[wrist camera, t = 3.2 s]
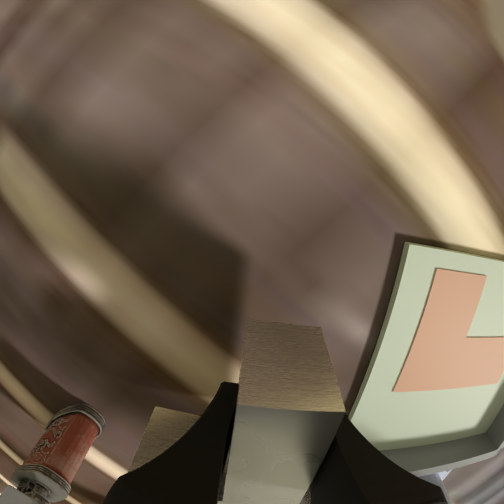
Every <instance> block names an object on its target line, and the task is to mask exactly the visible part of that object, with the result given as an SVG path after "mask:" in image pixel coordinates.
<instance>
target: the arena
mask: <svg viewBox="0 0 504 504" xmlns="http://www.w3.org/2000/svg"><path fill="white" fill-rule="evenodd" d="M348 419H349V420H350V421H351V422H352V423H353V425H354V426H355V427H356V428H357V429H358V431H359V432H360V433H361V434H362V435H363V436H364V437H365V438H366V439H367V440H368V441H369V442H370V443H371V444H372V445H373V446H374V447H375V448H376V449H378V450H379V451H380V452H381V453H382V454H383V455H385V456H386V457H387V458H388V459H390V460H391V461H393V462H394V463H395V464H397V465H398V466H400V467H401V468H403V469H405V470H406V471H408V472H410V473H411V474H413V475H415V476H417V477H420V476H425V475H430V474H434V473H439V472H443V471H447V470H451V469H455V468H458V467H462V466H466V465H469V464H472V463H476V462H479V461H482V460H485V459H488V458H491V457H494V456H497V455H498V454H499V453H500V452H501V451H502V449H503V448H504V260H500V259H495V258H490V257H485V256H480V255H475V254H470V253H465V252H460V251H455V250H449V249H444V248H439V247H433V246H428V245H422V244H417V243H411V242H405V243H404V248H403V252H402V256H401V261H400V265H399V269H398V273H397V277H396V280H395V284H394V288H393V292H392V295H391V299H390V302H389V306H388V309H387V312H386V316H385V319H384V322H383V325H382V328H381V332H380V335H379V338H378V341H377V344H376V347H375V349H374V352H373V355H372V358H371V361H370V364H369V366H368V369H367V372H366V374H365V377H364V380H363V382H362V385H361V387H360V390H359V392H358V395H357V397H356V400H355V402H354V404H353V407H352V409H351V411H350V414H349V416H348Z"/></svg>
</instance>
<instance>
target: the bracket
mask: <svg viewBox="0 0 504 504" xmlns="http://www.w3.org/2000/svg"><path fill="white" fill-rule="evenodd" d="M238 384H239V385H238V394H237V402H236V409H235V415H234V422H233V429H232V436H231V442H230V447H229V451H228V455H227V459H226V463H225V467H224V471H223V475H222V479H221V484H220V489H219V496H218V503H217V504H300V502H301V500H302V498H303V497H304V495H305V493H306V491H307V490H308V488H309V486H310V484H311V482H312V480H313V479H314V477H315V475H316V473H317V471H318V469H319V467H320V465H321V463H322V461H323V459H324V457H325V455H326V453H327V451H328V449H329V447H330V445H331V443H332V441H333V439H334V437H335V435H336V433H337V430H338V428H339V426H340V424H341V421H342V419H343V417H344V415H345V412H346V411H345V408H344V404H343V401H342V397H341V394H340V390H339V387H338V383H337V380H336V376H335V373H334V370H333V366H332V363H331V360H330V356H329V353H328V350H327V346H326V343H325V340H324V337H323V333H322V330H321V327H312V326H303V325H293V324H284V323H276V322H268V321H260V320H252V319H247V325H246V332H245V339H244V347H243V354H242V361H241V368H240V375H239V382H238ZM200 417H201V415H195V414H190V413H185V412H180V411H175V410H170V409H165V408H161V407H156V406H155V408H154V411H153V413H152V415H151V418H150V420H149V423H148V425H147V427H146V430H145V432H144V435H143V437H142V439H141V442H140V444H139V447H138V449H137V451H136V454H135V456H134V459H133V461H132V464H131V466H130V469H129V471H128V472H131V471H133V470H135V469H137V468H139V467H141V466H142V465H144V464H146V463H147V462H149V461H151V460H152V459H154V458H155V457H157V456H158V455H160V454H161V453H163V452H164V451H165V450H167V449H168V448H169V447H170V446H172V445H173V444H174V443H175V442H177V441H178V440H179V439H180V438H181V437H182V436H183V435H184V434H185V433H186V432H187V431H188V430H189V429H190V428H191V427H192V426H193V425H194V424H195V422H196V421H197V420H198V419H199V418H200Z"/></svg>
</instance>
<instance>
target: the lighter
mask: <svg viewBox="0 0 504 504" xmlns="http://www.w3.org/2000/svg"><path fill="white" fill-rule="evenodd" d="M105 424H106V423H105V420H104V418H103V417H102V415H101V414H100V413H99V412H98V411H97V410H95V409H94V408H93V407H91V406H89V405H86V404H76V405H72V406H69V407H66V408H64V409H62V410H60V411H59V412H58V413H57V414H56V415H54V416H53V418H52V419H51V420H50V422H49V423H48V425H47V426H46V428H45V433H44V434H43V436H42V437H41V438H40V440H39V441H38V443H37V444H36V446H35V447H34V448H33V450H32V451H31V453H30V454H29V456H28V457H27V459H26V460H25V461H24V463H23V464H22V465H21V466H19V467H18V468H16V470H15V471H14V473H13V474H12V477H11V481H12V482H13V484H14V485H15V486H16V487H17V490H19V491H21V492H22V493H24V494H26V495H27V496H29V497H31V498H32V499H34V500H35V501H36V502H38V503H39V504H50V502H59V501H62V500H64V499H65V498H67V496H68V494H69V492H70V490H71V487H70V483H71V482H72V480H73V478H74V476H75V474H76V472H77V470H78V468H79V467H80V465H81V463H82V461H83V459H84V457H85V456H86V454H87V452H88V450H89V448H90V446H91V445H92V443H93V441H94V440H95V439H96V438H97V437H98V436H99V435H100V434H101V432H102V430H103V429H104V427H105Z"/></svg>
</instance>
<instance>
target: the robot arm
mask: <svg viewBox="0 0 504 504" xmlns="http://www.w3.org/2000/svg"><path fill="white" fill-rule="evenodd" d="M238 385H239V384H238V383H231V382H222V383H221V385H220V387H219V389H218V391H217V393H216V395H215V397H214V398H213V400H212V402H211V403H210V405H209V406H208V407H207V409H206V410H205V411H204V413H203V414H202V415H201V417H200V418H199V419H198V420H197V421H196V422H195V424H194V425H193V426H192V427H191V428H190V429H189V430H188V431H187V432H186V433H185V434H184V435H183V436H182V437H181V438H180V439H179V440H178V441H177V442H175V443H174V444H173V445H172V446H170V447H169V448H168V449H167V450H165V451H164V452H163V453H161V454H160V455H158V456H157V457H155V458H154V459H152V460H151V461H149V462H147V463H146V464H144V465H142V466H141V467H139V468H137V469H135V470H133V471H131V472H128V473H126V474H124V475H122V476H120V477H119V478H118V479H117V481H116V482H115V483H114V484H113V486H112V487H111V489H110V490H109V492H108V494H107V496H106V498H105V500H104V503H103V504H217V503H218V496H219V489H220V484H221V479H222V475H223V471H224V467H225V463H226V459H227V455H228V451H229V447H230V442H231V436H232V429H233V422H234V415H235V409H236V402H237V394H238ZM451 470H452V469H451ZM451 470H447V471H443V472H439V473H434V474H430V475H425V476H420V477H417V476H415V475H413V474H411V473H410V472H408V471H406V470H405V469H403V468H401V467H400V466H398V465H397V464H395V463H394V462H393V461H391V460H390V459H388V458H387V457H386V456H385V455H383V454H382V453H381V452H380V451H379V450H378V449H376V448H375V447H374V446H373V445H372V444H371V443H370V442H369V441H368V440H367V439H366V438H365V437H364V436H363V435H362V434H361V433H360V432H359V431H358V429H357V428H356V427H355V426H354V425H353V423H352V422H351V421H350V420H349V419H348V417H347V416H346V415H344V417H343V419H342V421H341V424H340V426H339V428H338V430H337V433H336V435H335V437H334V439H333V441H332V443H331V445H330V447H329V449H328V451H327V453H326V455H325V457H324V459H323V461H322V463H321V465H320V467H319V469H318V471H317V473H316V475H315V477H314V479H313V480H312V482H311V484H310V489H311V504H452V502H451V500H450V498H449V495H448V493H447V491H446V489H445V486H444V484H443V482H442V481H443V480H444V478H445V477H446V476H447V475H448V474H449V472H450V471H451ZM0 504H39V503H38V502H36V501H35V500H34V499H32V498H31V497H29V496H27V495H26V494H24V493H22V492H21V491H19V490H17V489H16V488H14V487H12V486H11V485H7V487H6V488H5V490H4V491H3V493H2V494H1V496H0Z"/></svg>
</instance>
